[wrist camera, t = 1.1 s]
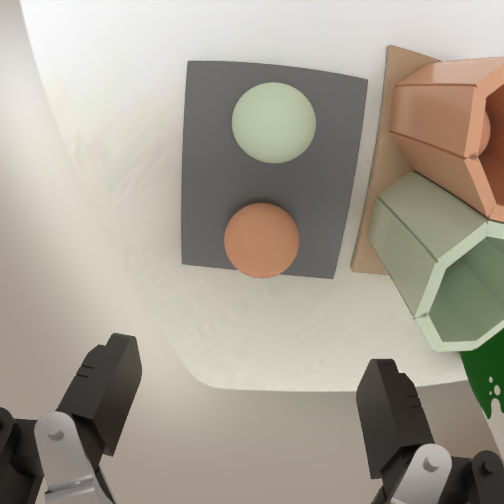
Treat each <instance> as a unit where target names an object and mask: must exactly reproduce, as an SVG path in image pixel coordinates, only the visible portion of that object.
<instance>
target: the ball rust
mask: <svg viewBox="0 0 504 504" xmlns="http://www.w3.org/2000/svg"><path fill="white" fill-rule="evenodd" d="M224 245H225V250H226V254H227V256H228V258H229V260H230V261H231V263H232V264H233V265H234V266H235V267H236V268H237V269H238V270H239V271H241V272H242V273H244V274H246V275H248V276H251V277H255V278H269V277H273V276H276V275H278V274H280V273H281V272H283V271H284V270H286V269H287V268H288V267H289V266H290V265H291V263H292V262H293V261H294V259H295V257H296V255H297V252H298V248H299V233H298V229H297V226H296V224H295V222H294V220H293V219H292V218H291V216H290V215H289V214H288V213H287V212H286V211H284V210H283V209H281V208H280V207H278V206H276V205H272V204H268V203H255V204H251V205H248V206H246V207H244V208H242V209H241V210H239V211H238V212H237V213H236V214H235V215H234V216H233V217H232V218H231V220H230V221H229V223H228V225H227V227H226V231H225V236H224Z"/></svg>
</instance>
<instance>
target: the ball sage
mask: <svg viewBox="0 0 504 504" xmlns="http://www.w3.org/2000/svg"><path fill="white" fill-rule="evenodd" d="M232 130H233V134H234V137H235V139H236V141H237V143H238V144H239V146H240V147H241V148H242V149H243V150H244V151H245V152H246V153H247V154H248V155H249V156H251V157H253V158H254V159H257V160H259V161H262V162H266V163H283V162H287V161H290V160H292V159H294V158H296V157H298V156H299V155H301V154H302V153H303V152H304V151H305V150H306V149H307V148H308V146H309V145H310V143H311V142H312V139H313V137H314V134H315V130H316V117H315V112H314V110H313V107H312V105H311V103H310V102H309V100H308V99H307V98H306V97H305V96H304V94H302V93H301V92H300V91H299V90H297V89H296V88H294V87H292V86H290V85H287V84H283V83H276V82H271V83H264V84H260V85H257V86H255V87H253V88H251V89H250V90H248V91H247V92H246V93H245V94H244V95H242V97H241V98H240V99H239V101H238V102H237V104H236V106H235V108H234V111H233V115H232Z"/></svg>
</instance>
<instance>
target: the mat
mask: <svg viewBox="0 0 504 504" xmlns="http://www.w3.org/2000/svg"><path fill="white" fill-rule="evenodd" d="M271 82H276V83H283V84H287V85H290V86H292V87H294V88H296V89H297V90H299V91H300V92H301V93H302V94H304V96H305V97H306V98H307V99H308V100H309V102H310V103H311V105H312V107H313V110H314V112H315V117H316V130H315V134H314V137H313V139H312V142H311V143H310V145H309V146H308V148H307V149H306V150H305V151H304V152H303V153H302V154H301V155H299V156H298V157H296V158H294V159H292V160H290V161H287V162H283V163H266V162H262V161H259V160H257V159H254V158H253V157H251V156H249V155H248V154H247V153H246V152H245V151H244V150H243V149H242V148H241V147H240V146H239V144H238V143H237V141H236V139H235V137H234V134H233V130H232V115H233V111H234V108H235V106H236V104H237V102H238V101H239V99H240V98H241V97H242V95H244V94H245V93H246V92H247V91H248V90H250V89H251V88H253V87H255V86H257V85H260V84H264V83H271ZM367 84H368V80H367V79H362V78H357V77H352V76H347V75H342V74H337V73H331V72H325V71H319V70H312V69H305V68H298V67H290V66H281V65H271V64H259V63H245V62H225V61H188V65H187V78H186V92H185V108H184V128H183V153H182V201H181V236H182V264H186V265H195V266H205V267H214V268H224V269H233V270H238V269H237V268H236V267H235V266H234V265H233V264H232V263H231V261H230V260H229V258H228V256H227V254H226V250H225V245H224V236H225V231H226V227H227V225H228V223H229V221H230V220H231V218H232V217H233V216H234V215H235V214H236V213H237V212H238V211H239V210H241V209H242V208H244V207H246V206H248V205H251V204H255V203H268V204H272V205H276V206H278V207H280V208H281V209H283V210H284V211H286V212H287V213H288V214H289V215H290V216H291V218H292V219H293V220H294V222H295V224H296V226H297V229H298V233H299V248H298V252H297V255H296V257H295V259H294V261H293V262H292V263H291V265H290V266H289V267H288V268H287V269H286V270H284V271H283V272H281V273H280V274H284V275H295V276H305V277H316V278H327V279H333V278H334V274H335V270H336V265H337V261H338V256H339V252H340V247H341V243H342V238H343V233H344V229H345V224H346V219H347V214H348V209H349V203H350V198H351V193H352V187H353V182H354V176H355V170H356V164H357V158H358V151H359V145H360V138H361V131H362V124H363V117H364V109H365V101H366V93H367Z"/></svg>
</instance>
